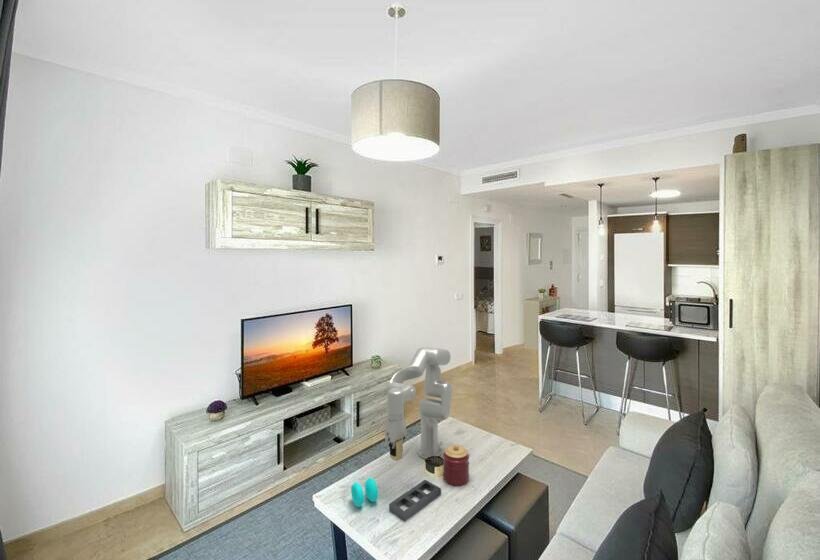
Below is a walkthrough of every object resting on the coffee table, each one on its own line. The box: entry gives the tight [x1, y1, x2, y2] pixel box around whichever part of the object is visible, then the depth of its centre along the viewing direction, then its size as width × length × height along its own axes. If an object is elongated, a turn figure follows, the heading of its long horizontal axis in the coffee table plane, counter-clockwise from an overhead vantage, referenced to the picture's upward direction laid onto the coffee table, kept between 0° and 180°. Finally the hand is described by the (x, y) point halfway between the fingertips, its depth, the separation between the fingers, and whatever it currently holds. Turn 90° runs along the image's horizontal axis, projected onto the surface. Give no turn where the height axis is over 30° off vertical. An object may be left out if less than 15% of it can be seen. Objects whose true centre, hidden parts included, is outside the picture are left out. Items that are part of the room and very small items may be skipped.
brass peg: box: [389, 439, 403, 462], centre depth 174 cm, size 4×4×9 cm
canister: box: [442, 444, 470, 487], centre depth 185 cm, size 13×13×18 cm
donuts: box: [350, 477, 379, 508], centre depth 169 cm, size 10×10×10 cm
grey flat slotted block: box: [388, 479, 442, 522], centre depth 169 cm, size 24×10×3 cm, turn 136°
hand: (396, 453), depth 174 cm, fingers closed on brass peg, 4 cm apart
